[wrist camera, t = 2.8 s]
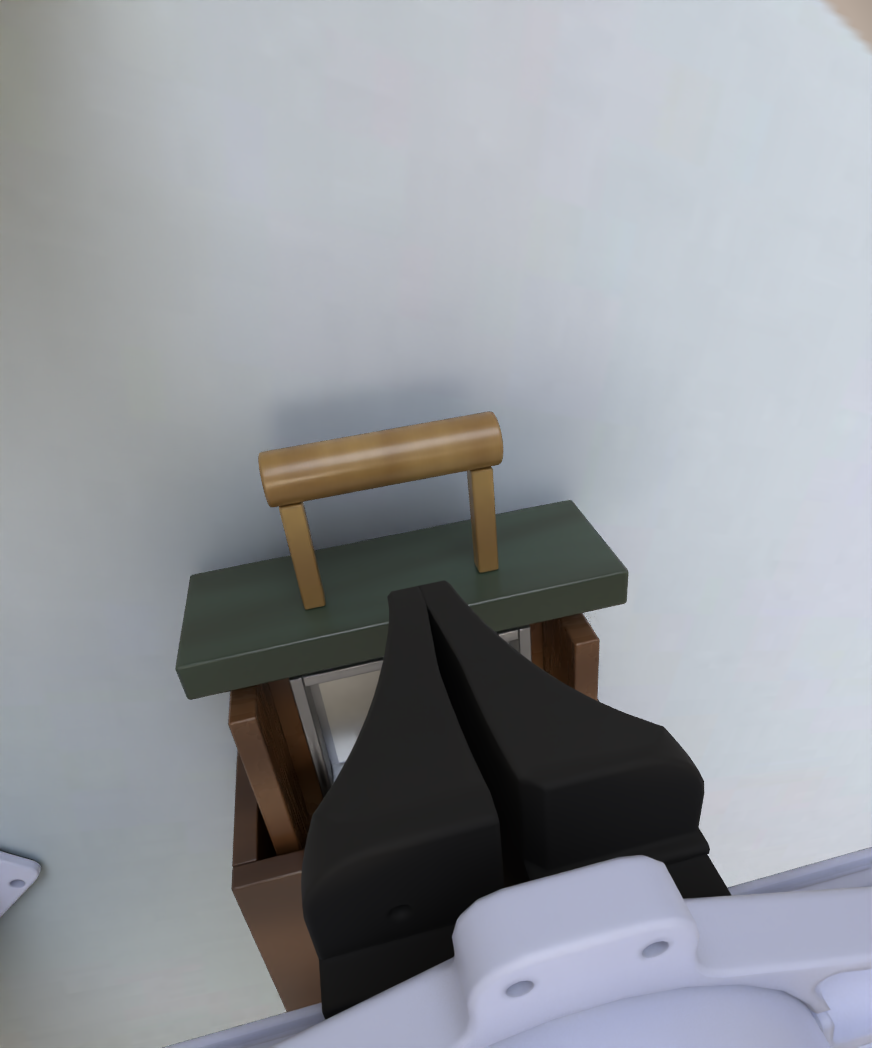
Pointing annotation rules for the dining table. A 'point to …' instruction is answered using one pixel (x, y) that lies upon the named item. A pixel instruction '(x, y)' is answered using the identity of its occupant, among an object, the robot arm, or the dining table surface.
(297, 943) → the cabinet
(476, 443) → the drawer
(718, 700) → the dining table surface
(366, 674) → the tray
